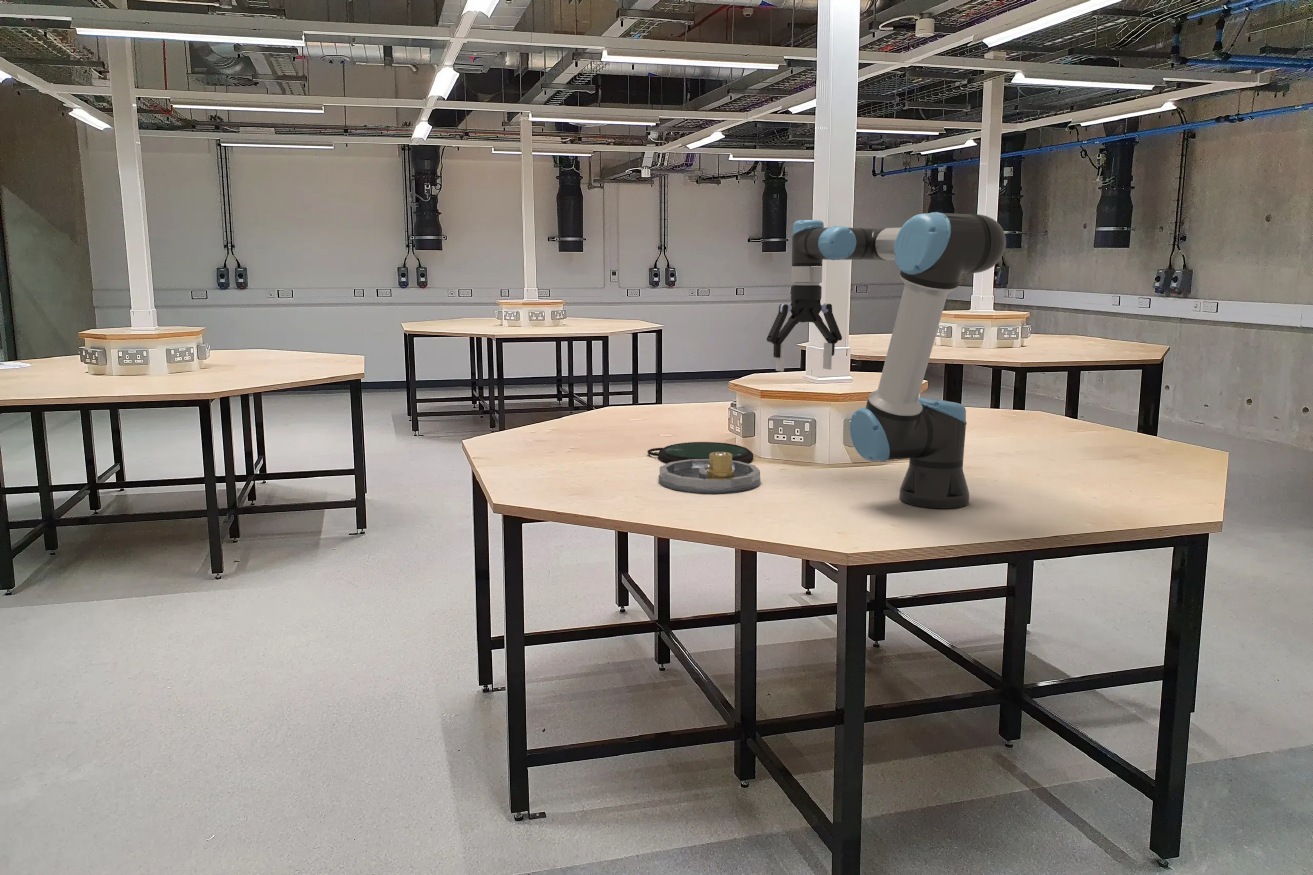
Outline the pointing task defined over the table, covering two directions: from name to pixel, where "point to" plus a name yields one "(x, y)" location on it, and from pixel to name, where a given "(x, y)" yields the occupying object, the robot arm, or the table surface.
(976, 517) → the table surface
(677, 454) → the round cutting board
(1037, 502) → the table surface
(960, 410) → the robot arm
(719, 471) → the brass hex pipe fitting
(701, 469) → the carrier
